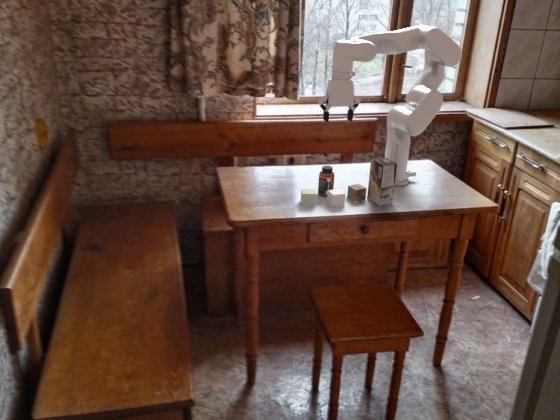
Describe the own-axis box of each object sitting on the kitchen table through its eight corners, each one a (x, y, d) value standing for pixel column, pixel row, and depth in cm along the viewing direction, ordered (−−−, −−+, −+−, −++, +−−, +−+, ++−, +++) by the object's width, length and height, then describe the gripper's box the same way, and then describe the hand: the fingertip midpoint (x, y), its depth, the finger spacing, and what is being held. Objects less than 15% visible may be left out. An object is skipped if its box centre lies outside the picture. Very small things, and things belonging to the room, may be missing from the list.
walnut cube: (357, 195, 217) (358, 183, 215) (365, 200, 213) (366, 188, 211) (347, 197, 215) (348, 185, 213) (354, 202, 211) (355, 190, 209)
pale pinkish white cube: (338, 201, 211) (339, 189, 209) (344, 206, 207) (345, 193, 205) (326, 202, 210) (327, 190, 208) (332, 207, 205) (333, 195, 203)
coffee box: (393, 204, 210) (398, 164, 204) (378, 206, 208) (383, 165, 201) (380, 195, 218) (384, 156, 212) (366, 197, 216) (370, 158, 209)
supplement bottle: (332, 197, 214) (334, 170, 209) (316, 196, 215) (318, 168, 210) (333, 192, 219) (335, 165, 215) (318, 190, 220) (320, 163, 216)
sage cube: (313, 201, 210) (314, 188, 208) (315, 206, 206) (316, 193, 204) (300, 201, 210) (301, 188, 208) (302, 206, 206) (302, 193, 204)
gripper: (358, 73, 210) (354, 117, 217) (316, 74, 205) (313, 119, 212) (367, 77, 204) (362, 122, 210) (323, 77, 199) (320, 124, 205)
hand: (337, 121), depth 211 cm, fingers open, 9 cm apart
